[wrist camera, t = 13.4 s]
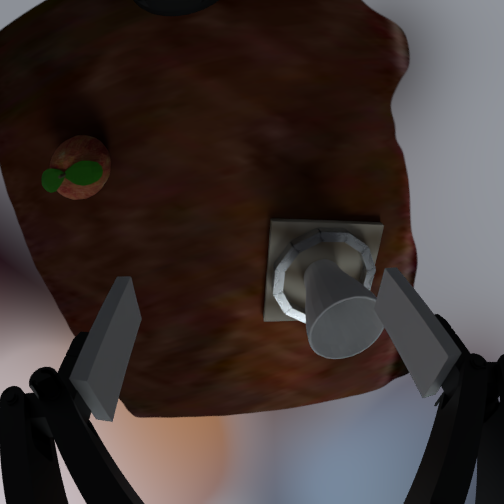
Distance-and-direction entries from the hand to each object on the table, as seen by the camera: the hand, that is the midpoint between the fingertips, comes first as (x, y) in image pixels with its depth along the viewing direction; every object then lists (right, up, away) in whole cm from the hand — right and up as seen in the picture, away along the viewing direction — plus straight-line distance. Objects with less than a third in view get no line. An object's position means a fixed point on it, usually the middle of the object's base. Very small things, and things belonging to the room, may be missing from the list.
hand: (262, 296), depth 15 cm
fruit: (-23, +15, +23) cm, 36 cm away
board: (+11, -1, +34) cm, 35 cm away
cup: (+11, -1, +33) cm, 34 cm away
